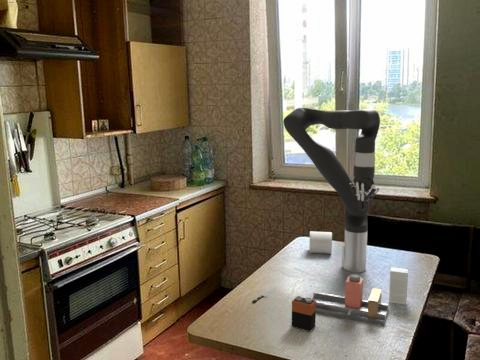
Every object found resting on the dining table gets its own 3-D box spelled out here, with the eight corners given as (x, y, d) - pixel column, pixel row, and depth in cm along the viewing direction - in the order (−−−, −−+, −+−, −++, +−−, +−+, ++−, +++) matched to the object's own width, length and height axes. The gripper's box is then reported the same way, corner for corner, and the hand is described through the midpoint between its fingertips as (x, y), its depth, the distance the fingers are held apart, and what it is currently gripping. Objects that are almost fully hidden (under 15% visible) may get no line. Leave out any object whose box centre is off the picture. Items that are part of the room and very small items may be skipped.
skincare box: (406, 299, 169) (408, 268, 167) (406, 305, 165) (408, 273, 163) (388, 297, 171) (390, 266, 169) (388, 302, 167) (390, 271, 165)
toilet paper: (309, 255, 215) (309, 235, 213) (309, 248, 225) (310, 228, 223) (331, 256, 213) (332, 236, 212) (331, 249, 223) (331, 229, 221)
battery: (310, 332, 147) (311, 302, 145) (290, 327, 151) (291, 298, 149) (315, 326, 151) (316, 297, 149) (296, 321, 154) (296, 293, 152)
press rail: (306, 311, 161) (306, 290, 160) (315, 297, 172) (315, 278, 171) (384, 325, 151) (385, 304, 150) (388, 309, 162) (389, 289, 160)
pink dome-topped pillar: (344, 309, 159) (345, 278, 157) (347, 302, 164) (348, 272, 162) (359, 311, 157) (360, 280, 155) (362, 305, 162) (363, 275, 160)
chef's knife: (284, 288, 182) (277, 285, 183) (284, 285, 181) (278, 283, 183) (258, 306, 166) (251, 303, 168) (258, 303, 166) (251, 300, 168)
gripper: (343, 163, 174) (341, 208, 177) (372, 167, 163) (370, 215, 167) (356, 161, 178) (355, 205, 181) (385, 165, 168) (383, 212, 171)
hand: (362, 210), depth 174 cm, fingers closed
